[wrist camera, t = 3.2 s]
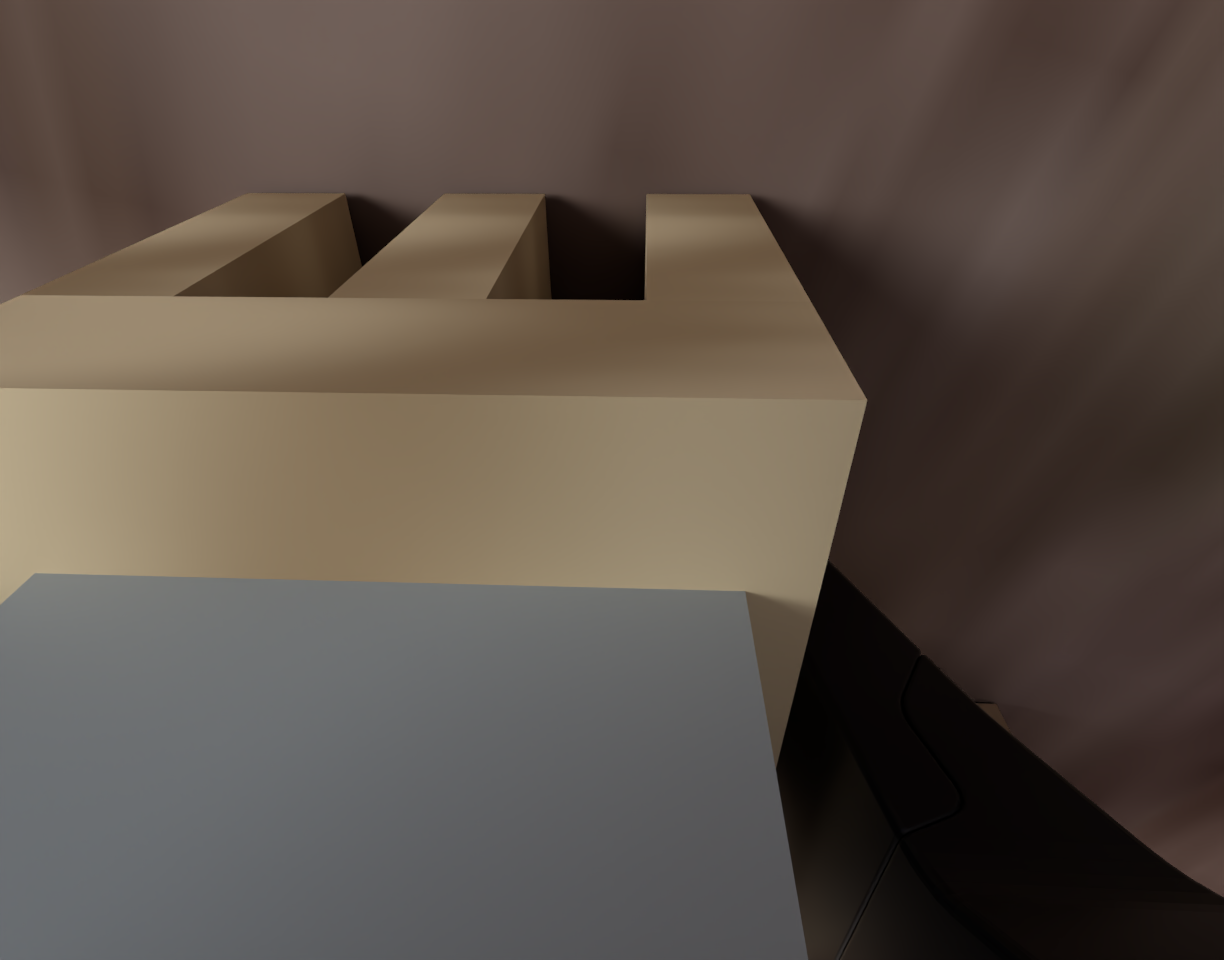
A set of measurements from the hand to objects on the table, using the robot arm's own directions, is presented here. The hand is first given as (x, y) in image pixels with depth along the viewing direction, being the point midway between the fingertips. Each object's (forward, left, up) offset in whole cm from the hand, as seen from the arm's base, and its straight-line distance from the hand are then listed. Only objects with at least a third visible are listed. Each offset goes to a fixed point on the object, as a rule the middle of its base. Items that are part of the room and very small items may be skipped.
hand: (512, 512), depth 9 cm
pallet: (0, 0, -1) cm, 1 cm away
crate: (0, 0, +4) cm, 4 cm away
